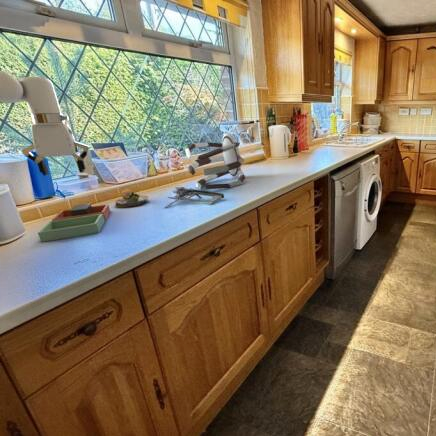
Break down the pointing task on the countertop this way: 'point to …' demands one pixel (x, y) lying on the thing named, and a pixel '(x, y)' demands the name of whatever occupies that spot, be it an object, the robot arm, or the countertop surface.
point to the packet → (81, 209)
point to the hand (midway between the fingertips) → (64, 173)
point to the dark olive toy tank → (130, 199)
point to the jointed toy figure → (229, 157)
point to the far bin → (96, 209)
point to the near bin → (71, 227)
